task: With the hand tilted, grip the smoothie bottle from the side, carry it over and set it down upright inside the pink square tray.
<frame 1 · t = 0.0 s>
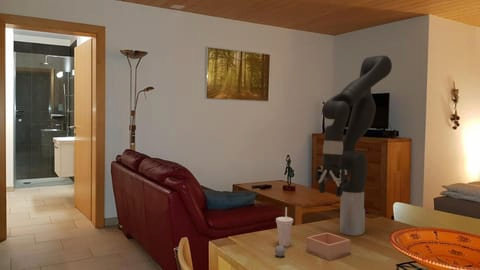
hand: (330, 194, 153), 17 cm above the table, tool pointing down, fingers open, 8 cm apart
smoothie: (284, 245, 146), on the table
pink square tray: (328, 252, 138), on the table
ball: (280, 256, 134), on the table
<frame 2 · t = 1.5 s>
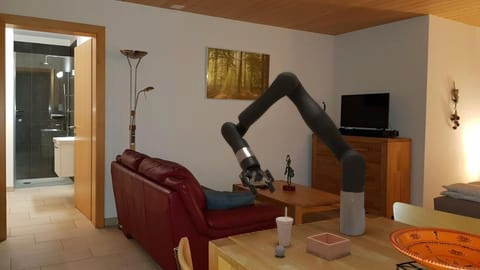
hand: (264, 193, 154), 17 cm above the table, tool tilted 45°, fingers open, 8 cm apart
nothing on the table moved.
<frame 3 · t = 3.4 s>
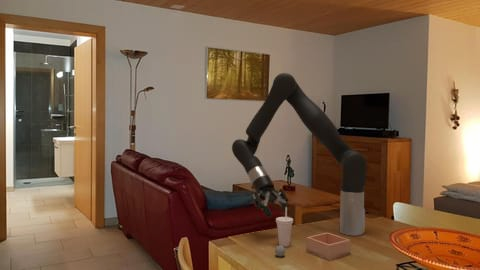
hand: (279, 215, 148), 10 cm above the table, tool tilted 45°, fingers open, 8 cm apart
nothing on the table moved.
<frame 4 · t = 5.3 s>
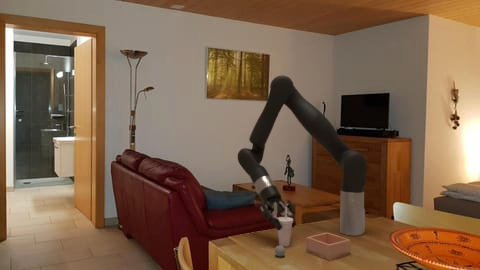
hand: (287, 227, 144), 7 cm above the table, tool tilted 45°, fingers closed on smoothie, 6 cm apart
smoothie: (284, 245, 146), on the table, touching gripper
everything else where it was.
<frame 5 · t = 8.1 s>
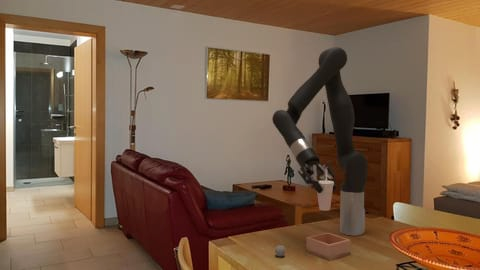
hand: (328, 190, 136), 22 cm above the table, tool tilted 45°, fingers closed on smoothie, 6 cm apart
smoothie: (324, 209, 138), point 15 cm above the table, touching gripper
everything else where it was.
when the fingers open (10 cm above the table, at t = 11.2 s): smoothie drops 2 cm, resting on pink square tray.
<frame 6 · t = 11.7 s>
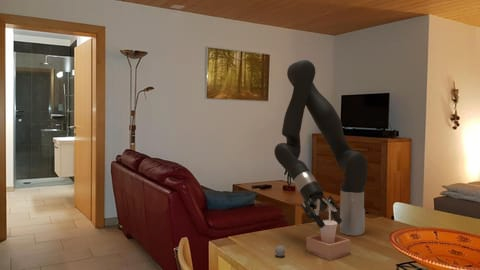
hand: (331, 224, 136), 10 cm above the table, tool tilted 45°, fingers open, 8 cm apart
smoothie: (327, 250, 138), point 1 cm above the table, touching pink square tray
everything else where it was.
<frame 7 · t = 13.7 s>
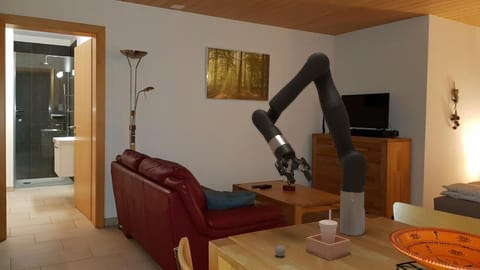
hand: (302, 181, 147), 23 cm above the table, tool tilted 45°, fingers open, 8 cm apart
nothing on the table moved.
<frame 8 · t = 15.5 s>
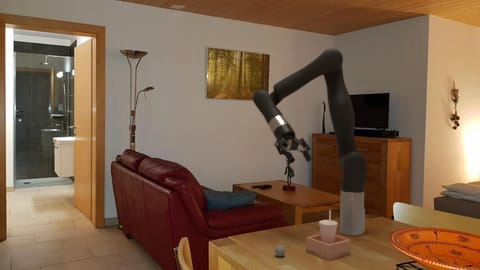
hand: (301, 161, 147), 31 cm above the table, tool tilted 45°, fingers open, 8 cm apart
nothing on the table moved.
at the end: smoothie inside the target area on the pink square tray (0.2 cm from its centre), point 0.8 cm above the pink square tray's base; smoothie tilted 0°; the gripper is holding nothing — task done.
